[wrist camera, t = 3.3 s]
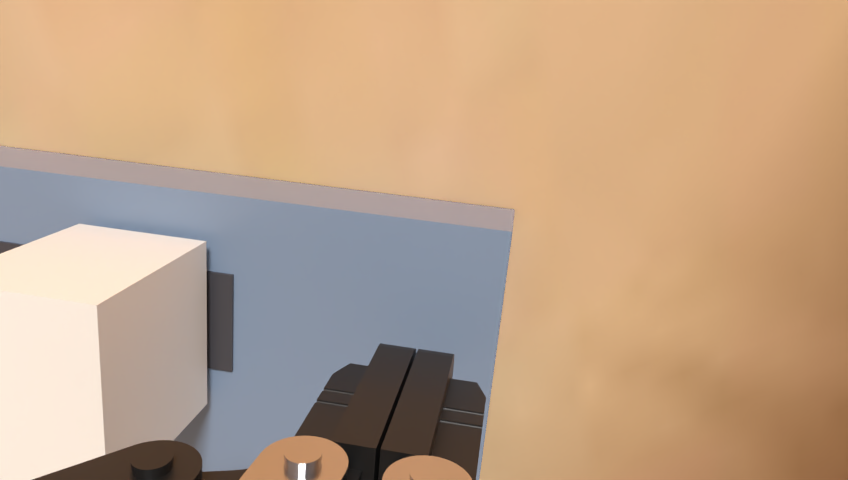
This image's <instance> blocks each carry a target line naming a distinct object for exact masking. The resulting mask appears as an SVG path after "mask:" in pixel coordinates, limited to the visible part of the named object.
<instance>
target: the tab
mask: <svg viewBox="0 0 848 480" xmlns="http://www.w3.org/2000/svg"><path fill="white" fill-rule="evenodd" d="M206 405H207V267H206V241H201V240H194V239H187V238H180V237H172V236H165V235H158V234H150V233H143V232H136V231H129V230H121V229H114V228H107V227H100V226H92V225H85V224H77V225H74V226H72V227H69V228H67V229H64V230H61V231H59V232H56V233H53V234H51V235H48V236H46V237H43V238H40V239H38V240H35V241H32V242H30V243H27V244H25V245H22V246H19V247H17V248H14V249H11V250H9V251H6V252H4V253H1V254H0V480H32V479H35V478H38V477H41V476H44V475H47V474H50V473H53V472H56V471H59V470H62V469H65V468H68V467H71V466H74V465H77V464H80V463H83V462H85V461H88V460H91V459H94V458H97V457H100V456H103V455H106V454H109V453H112V452H115V451H118V450H121V449H124V448H127V447H130V446H133V445H136V444H140V443H143V442H148V441H156V440H172V441H174V439H175V438H176V437H177V436H178V435H179V434H180V433H181V432H182V431H183V430H184V429H185V427H186V426H187V425H188V424H189V423H190V422H191V421H192V420H193V419H194V418H195V417H196V415H197V414H198V413H199V412H200V411H201V410H202V409H203V408H204V407H205V406H206Z"/></svg>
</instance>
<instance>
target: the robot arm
mask: <svg viewBox="0 0 848 480" xmlns="http://www.w3.org/2000/svg"><path fill="white" fill-rule="evenodd" d="M453 368H454V354H450V353H444V352H437V351H430V350H423V349H418V351H417V352H416V348H409V347H402V346H396V345H389V344H382V343H380V344H379V346H378V348H377V350H376V351H375V353H374V355H373V357H372V359H371V361H370V363H369V365H368V366H365V365H359V364H352V363H350V364H348V365H346V366H345V367H343V368H341V369H340V370H338V371H336V372H335V373H333V374H332V376H331V377H330V379H329V381H328V382H327V384H326V385H325V387H324V391H322V392H321V394H320V395H319V397H318V398H317V402H316V403H314V405H313V407H312V408H311V410H310V412H309V413H308V415H307V416H306V418H305V420H304V421H303V423H302V425H301V426H300V428H299V430H298V431H297V433H296V434H295V436H294V437H288V438H284V439H281V440H279V441H276V442H274V443H272V444H270V445H269V446H268V447H266V448H265V449H264V450H263V451H262V452H261V453H260V454H259V456H258V457H257V458H256V459H255V461H254V462H253V463H252V464H251V465H250V467H249V468H248V469H242V470H228V471H206V472H202V457H201V455H200V453H199V452H198V451H197V450H196V449H195V448H194V447H192V446H190V445H188V444H186V443H183V442H178V441H172V440H156V441H148V442H143V443H140V444H136V445H133V446H130V447H127V448H124V449H121V450H118V451H115V452H112V453H109V454H106V455H103V456H100V457H97V458H94V459H91V460H88V461H85V462H83V463H80V464H77V465H74V466H71V467H68V468H65V469H62V470H59V471H56V472H53V473H50V474H47V475H44V476H41V477H38V478H35V479H32V480H476V474H477V466H478V458H479V450H480V442H481V434H482V426H483V419H484V411H485V403H486V397H485V395H484V393H483V392H482V390H481V388H480V387H479V385H478V383H477V382H471V381H464V380H458V379H452V377H453Z"/></svg>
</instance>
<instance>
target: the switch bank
mask: <svg viewBox="0 0 848 480" xmlns="http://www.w3.org/2000/svg"><path fill="white" fill-rule="evenodd" d="M513 220H514V209H506V208H498V207H490V206H481V205H473V204H465V203H457V202H449V201H441V200H433V199H425V198H417V197H409V196H401V195H393V194H385V193H377V192H368V191H360V190H352V189H344V188H336V187H328V186H320V185H312V184H304V183H296V182H288V181H280V180H272V179H263V178H255V177H247V176H239V175H231V174H223V173H215V172H207V171H199V170H191V169H183V168H175V167H167V166H158V165H150V164H142V163H134V162H126V161H118V160H110V159H102V158H94V157H86V156H78V155H70V154H62V153H53V152H45V151H37V150H29V149H21V148H13V147H5V146H0V254H1V253H4V252H6V251H9V250H11V249H14V248H17V247H19V246H22V245H25V244H27V243H30V242H32V241H35V240H38V239H40V238H43V237H46V236H48V235H51V234H53V233H56V232H59V231H61V230H64V229H67V228H69V227H72V226H74V225H77V224H85V225H92V226H100V227H107V228H114V229H121V230H129V231H136V232H143V233H150V234H158V235H165V236H172V237H180V238H187V239H194V240H201V241H206V267H207V405H206V406H205V407H204V408H203V409H202V410H201V411H200V412H199V413H198V414H197V415H196V417H195V418H194V419H193V420H192V421H191V422H190V423H189V424H188V425H187V426H186V427H185V429H184V430H183V431H182V432H181V433H180V434H179V435H178V436H177V437H176V438H175V439H174V441H178V442H183V443H186V444H188V445H190V446H192V447H194V448H195V449H196V450H197V451H198V452H199V453H200V455H201V457H202V472H206V471H228V470H242V469H248V468H249V467H250V465H251V464H252V463H253V462H254V461H255V459H256V458H257V457H258V456H259V454H260V453H261V452H262V451H263V450H264V449H265V448H266V447H268V446H269V445H270V444H272V443H274V442H276V441H279V440H281V439H284V438H288V437H294V436H295V434H296V433H297V431H298V430H299V428H300V426H301V425H302V423H303V421H304V420H305V418H306V416H307V415H308V413H309V412H310V410H311V408H312V407H313V405H314V403H316V402H317V398H318V397H319V395H320V394H321V392H322V391H324V387H325V385H326V384H327V382H328V381H329V379H330V377H331V376H332V374H333V373H335V372H336V371H338V370H340V369H341V368H343V367H345V366H346V365H348V364H350V363H352V364H359V365H365V366H368V365H369V363H370V361H371V359H372V357H373V355H374V353H375V351H376V350H377V348H378V346H379V344H380V343H382V344H389V345H396V346H402V347H409V348H416V352H417V351H418V349H423V350H430V351H437V352H444V353H450V354H454V368H453V377H452V379H458V380H464V381H471V382H477V383H478V385H479V387H480V388H481V390H482V392H483V393H484V395H485V397H486V403H485V411H484V419H483V426H482V434H481V442H480V450H479V458H478V466H477V474H476V480H479V476H480V469H481V461H482V454H483V447H484V439H485V432H486V424H487V417H488V409H489V402H490V394H491V387H492V380H493V372H494V365H495V357H496V350H497V342H498V335H499V327H500V320H501V313H502V305H503V298H504V290H505V283H506V275H507V268H508V260H509V253H510V246H511V238H512V230H513Z"/></svg>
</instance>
